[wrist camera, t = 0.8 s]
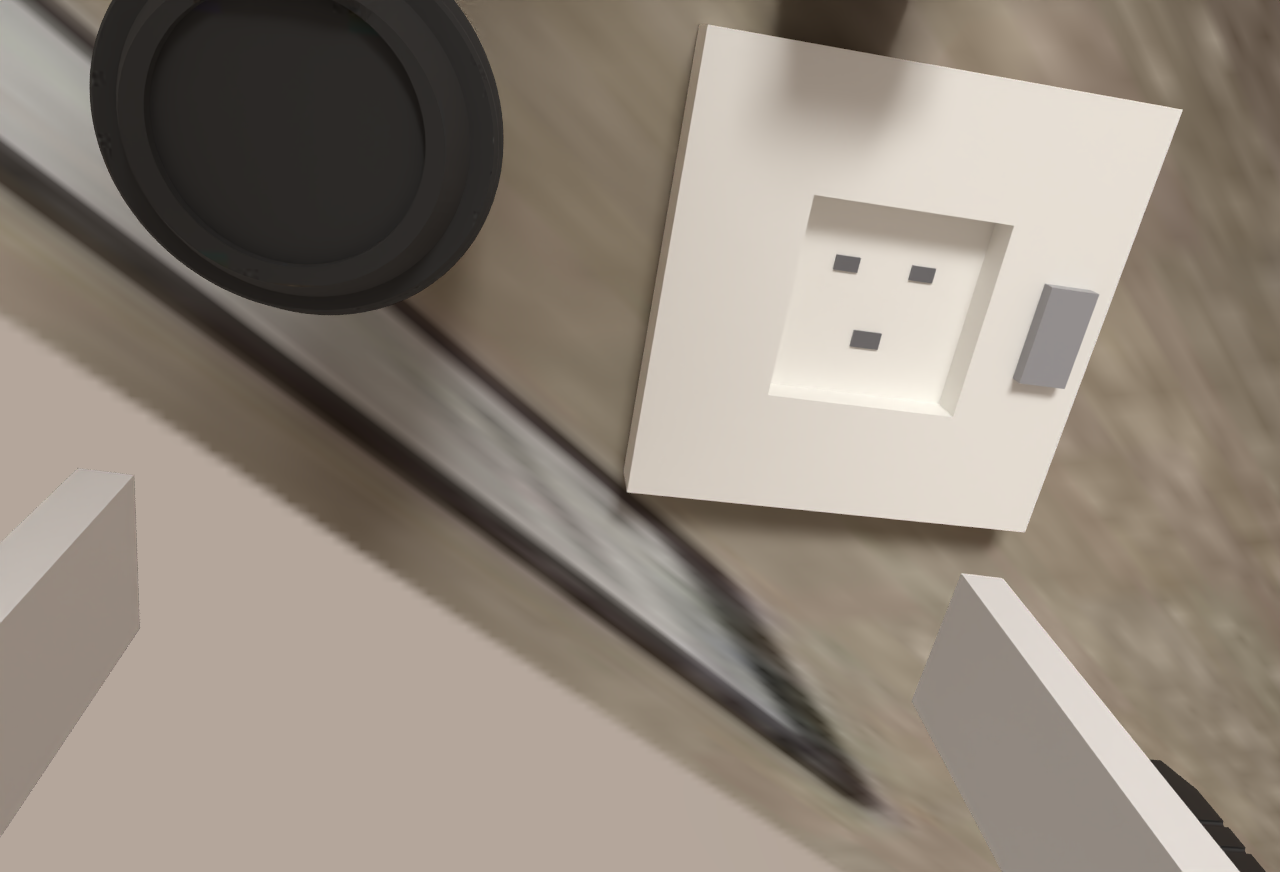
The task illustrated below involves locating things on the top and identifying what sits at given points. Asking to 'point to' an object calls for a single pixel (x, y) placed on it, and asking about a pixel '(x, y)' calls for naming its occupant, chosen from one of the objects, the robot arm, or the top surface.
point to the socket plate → (880, 281)
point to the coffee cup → (301, 141)
